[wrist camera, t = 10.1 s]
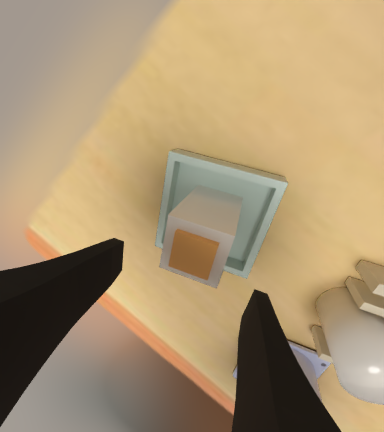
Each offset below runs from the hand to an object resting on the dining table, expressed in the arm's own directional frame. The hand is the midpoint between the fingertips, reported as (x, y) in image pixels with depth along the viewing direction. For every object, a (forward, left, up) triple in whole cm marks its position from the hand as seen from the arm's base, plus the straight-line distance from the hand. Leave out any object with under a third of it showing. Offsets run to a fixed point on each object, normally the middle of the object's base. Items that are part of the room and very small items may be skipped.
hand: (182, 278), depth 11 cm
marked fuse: (0, 0, -9) cm, 9 cm away
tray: (0, 0, -10) cm, 10 cm away
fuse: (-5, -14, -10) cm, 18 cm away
